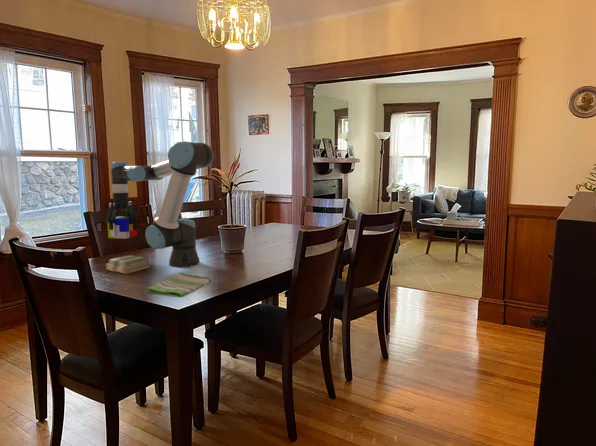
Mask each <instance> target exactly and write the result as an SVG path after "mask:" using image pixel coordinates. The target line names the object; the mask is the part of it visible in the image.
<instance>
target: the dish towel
mask: <svg viewBox="0 0 596 446" xmlns="http://www.w3.org/2000/svg"><path fill="white" fill-rule="evenodd" d="M210 282H211V283H212V278H210V277H208V276H203V275H202V276H201V275H197V274H196V275H195V274H190V273H189V274H188V273H185V272H180V273H178V274H177V275H175V276H173V277H170V278H168V279H166V280H165V281H161V282H158V283H156V284H153V285H151V286H149V287H147V290H146V292H147V293H151V294H156V295H157V294H158V295H164V296H171V297H180V298H182V297H184V296H186V295H188V294H191V293H193V292H195V291H198V290H199V288H200V289H201V287H202V288H204V287H205V285H206V286H208V285H209V284H211V283H210Z"/></svg>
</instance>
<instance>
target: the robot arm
mask: <svg viewBox="0 0 596 446" xmlns="http://www.w3.org/2000/svg"><path fill="white" fill-rule="evenodd" d="M214 159H215V154H214V151H213V148H212V147H211V146H209V144H207V143H204V142H192V141H185V140H183V141H178V142H175V143H174V144H172V145H171V146H170V148H169V150H168V153H167V160H164V161H161V162H158V163H156V164H152V165H128V164H127V162H125V161H112V162H111V165H110V167H111V168H110V172H111V185H112V186H111V187H112V192H113V193H112V200H113V202H109V203H108V204H107V205H108V208H107V213H106V216H105V221H104V222H105V223H109V229H110V232H111V236H116V235H115V223H113V222H114V220H115V218H116V217H118V214H119V212H120V211H124V213H125V214H126V215H127V217H136V220H138V218H139V217H138V215H137V212H136V209H135V206H134V201H129V197H130V196H129V182H141V181H143V182H145V181H160V180H163V179H164V178H165V177H168V176H170V178H169V181H168V184H167V188H166V191H165V195H164V198H163V200H162V204H161V205H162V206H161V208H160V212H159V216H156V217H155V218H154V220H153V223H152V224H151V225H149V226H147V227H146V229H145V239H146V242H147V244H148V245H149V247H151V248H153V249H155V250H159V249H161V250H163V249H166V248H170V247H171V248H172V249H171V252H170V253H171V254H170V256H169V259H168V264H169V266H171V267H178V268H181V267H182V268H185V267H186V268H187V267H194V266H197V265H199V264H200V257H199V254H198V251H197V248H196V245H197V244H196V243H197V242H196V231H197V229H196V228H197V227H196V222H195V220H192V219H183V218H179V216H180V213H181V211H182V210H181V209H182V207H183V205H184V204H183V203H184V200H185V198H186V194H187V191H188V188H189V185H190V184H189V183H190V182H191V181H190V180H191V178H192V177H194V176H196V174H197V170H199V169H204V168H207V167H209V166H210V165H211V164H212V163H213V162H214Z"/></svg>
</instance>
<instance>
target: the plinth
mask: <svg viewBox="0 0 596 446" xmlns="http://www.w3.org/2000/svg"><path fill="white" fill-rule="evenodd" d="M149 268H150V261H148V260H147V257H144V256H137V255H130V254H128V255H123V256H120V257H119V256H118V257H115V258H110V259H108V263H105V270H106V271H111V272H116V273H122V274H131V273H134V272H138V271H142V270H146V269H149Z"/></svg>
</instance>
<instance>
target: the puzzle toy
mask: <svg viewBox="0 0 596 446" xmlns="http://www.w3.org/2000/svg"><path fill="white" fill-rule="evenodd" d="M106 223H107V222H106ZM113 223H115V235H116V236H111V232H110V229H109V223H107V236H108V237H107V238H108V239H130V238H132V237H136V236H138V226H137V219H136V217H128V216H124V215H123V216H122V215H121V216H120V215H119V216H118V215H117V216H116V218H115V220H114V222H113Z"/></svg>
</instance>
